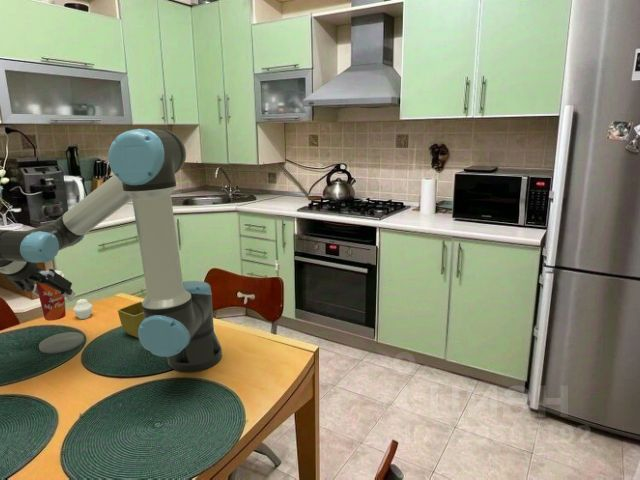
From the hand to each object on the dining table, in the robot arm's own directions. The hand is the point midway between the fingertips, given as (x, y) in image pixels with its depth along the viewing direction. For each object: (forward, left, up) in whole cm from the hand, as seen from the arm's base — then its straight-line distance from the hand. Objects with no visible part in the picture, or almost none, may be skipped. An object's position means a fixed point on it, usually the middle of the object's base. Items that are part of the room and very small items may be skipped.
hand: (60, 297), depth 138 cm
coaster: (-3, +2, -14) cm, 15 cm away
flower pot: (-9, -20, -15) cm, 27 cm away
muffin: (+16, -6, -15) cm, 23 cm away
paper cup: (-3, +2, -5) cm, 6 cm away
